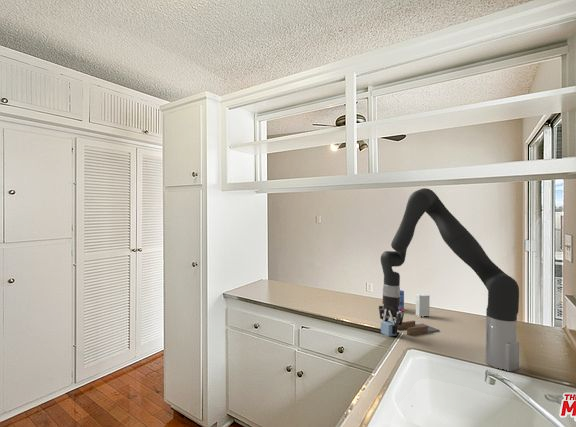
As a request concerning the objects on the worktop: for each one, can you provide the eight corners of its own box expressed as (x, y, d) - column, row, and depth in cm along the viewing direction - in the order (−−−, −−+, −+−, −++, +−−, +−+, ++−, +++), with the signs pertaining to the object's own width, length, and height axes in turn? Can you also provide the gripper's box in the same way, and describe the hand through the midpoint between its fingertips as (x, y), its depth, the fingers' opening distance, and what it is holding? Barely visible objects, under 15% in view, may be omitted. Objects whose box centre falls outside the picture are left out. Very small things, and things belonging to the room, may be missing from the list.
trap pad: (439, 331, 148) (439, 330, 148) (430, 332, 145) (430, 331, 145) (422, 324, 157) (422, 323, 157) (413, 325, 154) (413, 324, 154)
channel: (427, 332, 146) (427, 325, 146) (408, 335, 141) (408, 328, 141) (413, 326, 153) (413, 320, 153) (395, 329, 148) (395, 322, 148)
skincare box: (425, 315, 174) (425, 293, 175) (429, 317, 170) (430, 295, 170) (414, 315, 174) (415, 293, 174) (419, 317, 169) (419, 295, 170)
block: (396, 335, 140) (397, 324, 140) (388, 336, 138) (388, 325, 138) (389, 331, 145) (389, 320, 145) (380, 332, 143) (381, 321, 143)
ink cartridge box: (384, 308, 186) (385, 284, 187) (391, 307, 189) (392, 283, 189) (397, 312, 177) (397, 287, 178) (404, 311, 180) (404, 286, 180)
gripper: (374, 291, 147) (373, 327, 147) (396, 298, 134) (395, 338, 134) (386, 290, 150) (385, 326, 150) (409, 297, 137) (408, 336, 137)
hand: (390, 331), depth 142 cm, fingers closed on block, 5 cm apart
